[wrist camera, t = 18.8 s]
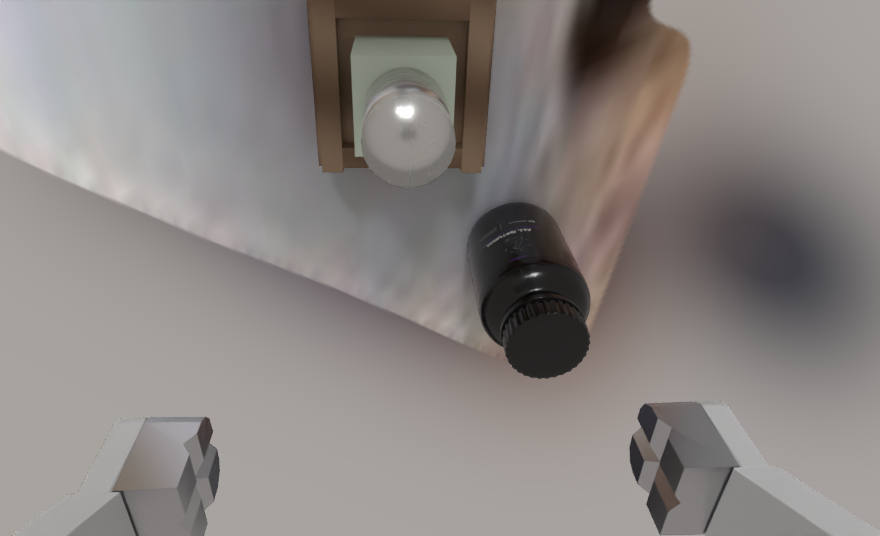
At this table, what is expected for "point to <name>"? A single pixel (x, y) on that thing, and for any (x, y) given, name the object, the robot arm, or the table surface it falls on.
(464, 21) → the walnut base
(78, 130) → the table surface
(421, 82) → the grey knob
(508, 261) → the supplement bottle
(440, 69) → the sage cube
